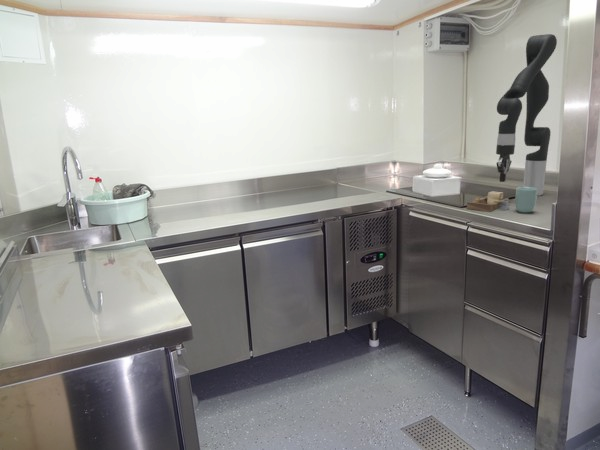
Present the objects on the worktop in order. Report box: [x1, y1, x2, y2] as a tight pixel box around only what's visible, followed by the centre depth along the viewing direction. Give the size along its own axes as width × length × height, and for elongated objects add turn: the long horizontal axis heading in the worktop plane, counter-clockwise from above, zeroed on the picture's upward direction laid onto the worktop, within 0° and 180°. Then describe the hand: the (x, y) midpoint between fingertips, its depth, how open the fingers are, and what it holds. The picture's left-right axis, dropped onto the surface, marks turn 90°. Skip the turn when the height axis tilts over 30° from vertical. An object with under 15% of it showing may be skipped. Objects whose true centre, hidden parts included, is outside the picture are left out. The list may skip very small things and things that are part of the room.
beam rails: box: [466, 195, 510, 213], centre depth 192 cm, size 22×10×3 cm, turn 136°
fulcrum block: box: [497, 200, 510, 211], centre depth 186 cm, size 4×3×4 cm
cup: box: [514, 186, 538, 214], centre depth 179 cm, size 8×8×10 cm
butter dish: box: [411, 163, 463, 198], centre depth 228 cm, size 18×18×16 cm
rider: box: [486, 191, 504, 204], centre depth 197 cm, size 5×5×5 cm
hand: (502, 181), depth 200 cm, fingers closed
